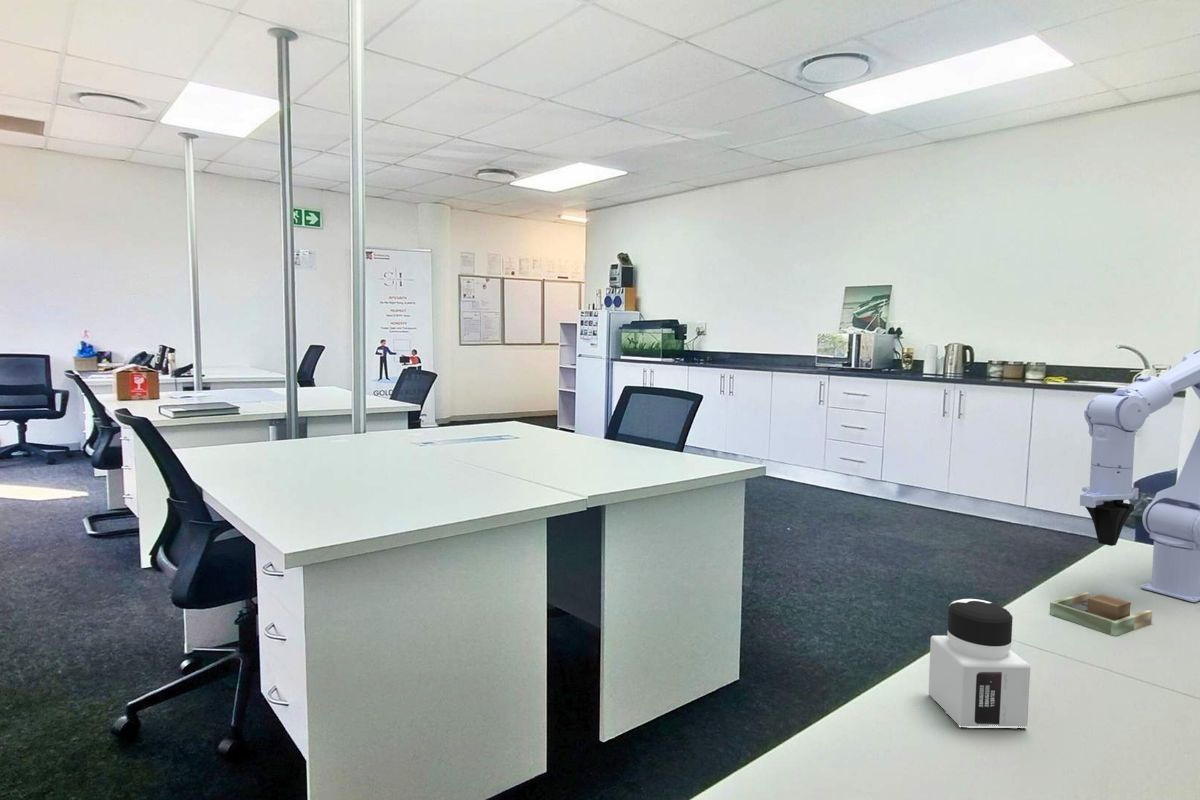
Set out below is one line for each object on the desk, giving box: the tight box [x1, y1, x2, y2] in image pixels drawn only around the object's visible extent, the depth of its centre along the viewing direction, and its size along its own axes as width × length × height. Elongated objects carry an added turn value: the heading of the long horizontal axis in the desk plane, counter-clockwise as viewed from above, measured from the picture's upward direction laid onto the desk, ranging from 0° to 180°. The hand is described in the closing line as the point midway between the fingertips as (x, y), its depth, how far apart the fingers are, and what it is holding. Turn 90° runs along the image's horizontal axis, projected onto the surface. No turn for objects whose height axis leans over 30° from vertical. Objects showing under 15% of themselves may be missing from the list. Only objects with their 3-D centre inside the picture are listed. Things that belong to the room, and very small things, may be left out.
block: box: [1087, 593, 1132, 621], centre depth 104 cm, size 4×4×4 cm
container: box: [928, 598, 1031, 727], centre depth 78 cm, size 8×8×13 cm
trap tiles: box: [1071, 602, 1088, 612], centre depth 110 cm, size 6×2×1 cm, turn 117°
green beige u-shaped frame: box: [1049, 591, 1153, 637], centre depth 106 cm, size 10×9×2 cm
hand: (1107, 544), depth 114 cm, fingers closed
